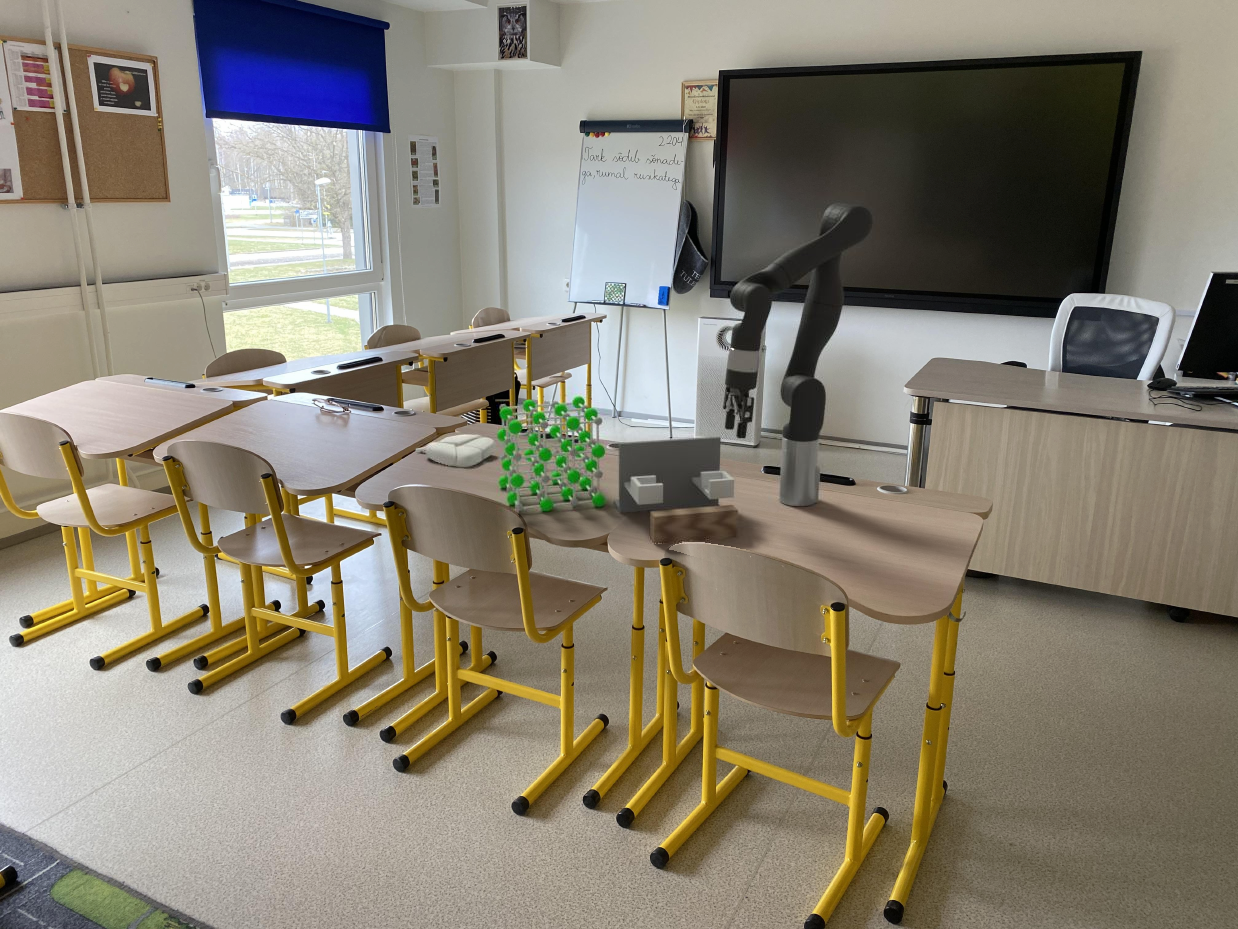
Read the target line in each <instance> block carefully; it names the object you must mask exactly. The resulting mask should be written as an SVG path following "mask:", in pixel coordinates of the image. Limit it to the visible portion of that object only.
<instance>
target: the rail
mask: <svg viewBox="0 0 1238 929" xmlns="http://www.w3.org/2000/svg"><path fill="white" fill-rule="evenodd" d="M649 512H650V515H649V517H650V519H649V526H650V527H649V531H650V532H649V539H650V541H651V540H652V541H651V542H652V544H653V543H654V544H655V543H656V544H655V545H659V544H658V543H662V544H661V545H664V544H663V543H666V544H677V543H676V542H678V543H683V542H682V541H690V540H701V541H711V540H722V539H735V538H737V537H738V518H739V510H738V508H737V507H735V505H733V504H727V505H716V506H704V507H691V508H678V509H665V510H652V511H649ZM706 539H707V540H706ZM708 539H709V540H708ZM690 542H691V541H690ZM654 544H653V545H654Z"/></svg>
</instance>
